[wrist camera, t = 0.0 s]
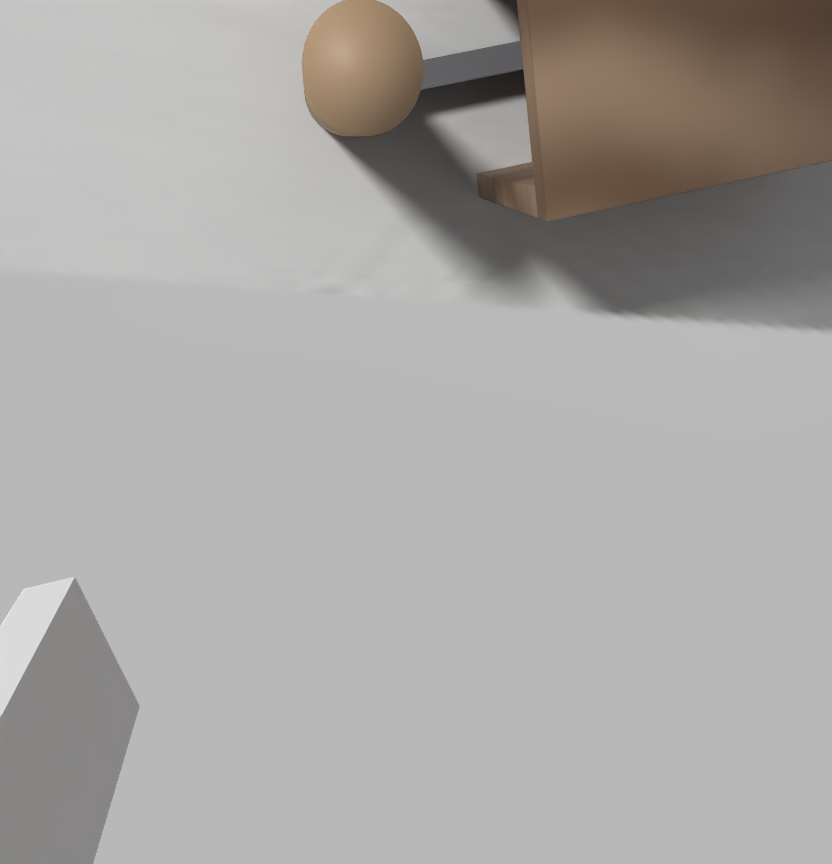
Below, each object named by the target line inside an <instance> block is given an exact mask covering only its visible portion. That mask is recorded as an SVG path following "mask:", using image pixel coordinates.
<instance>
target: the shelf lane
mask: <svg viewBox="0 0 832 864" xmlns="http://www.w3.org/2000/svg"><path fill="white" fill-rule="evenodd" d="M517 9H518V19H519V30H520V40H521V50H522V60H523V71H524V81H525V91H526V102H527V112H528V122H529V132H530V143H531V153H532V162H531V163H526V164H521V165H516V166H512V167H507V168H502V169H497V170H493V171H488V172H483V173H478V174H477V182H478V189H479V197H480V198H483V199H486V200H489V201H491V202H494V203H497V204H500V205H503V206H505V207H508V208H511V209H514V210H517V211H519V212H522V213H525V214H528V215H531V216H533V217H536V218H539V219H542V220H545V221H547V222H548V221H553V220H557V219H562V218H567V217H571V216H576V215H581V214H585V213H590V212H595V211H599V210H604V209H609V208H613V207H618V206H623V205H627V204H632V203H636V202H641V201H646V200H650V199H655V198H660V197H664V196H669V195H674V194H678V193H683V192H688V191H692V190H697V189H702V188H706V187H711V186H715V185H720V184H725V183H729V182H734V181H739V180H743V179H748V178H753V177H757V176H762V175H767V174H771V173H776V172H781V171H785V170H790V169H794V168H799V167H804V166H808V165H813V164H818V163H822V162H827V161H832V0H517Z"/></svg>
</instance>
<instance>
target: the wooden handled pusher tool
mask: <svg viewBox="0 0 832 864" xmlns="http://www.w3.org/2000/svg"><path fill="white" fill-rule="evenodd" d="M302 69H303V82H304V94H305V100H306V104H307V107H308V109H309V111H310V113H311V115H312V116H313V118H314V119H315V121H316V122H317V123H318V124H319V125H320V126H321V127H323V128H324V129H325V130H327V131H329V132H331V133H333V134H336V135H340V136H374V135H379V134H382V133H385V132H387V131H389V130H391V129H393V128H395V127H396V126H398V125H399V124H400V123H401V122H402V121H403V120H404V119H405V118H406V117H407V116H408V115H409V114H410V112H411V111H412V109H413V108H414V106H415V104H416V102H417V100H418V97H419V94H420V91H421V90H425V89H430V88H435V87H440V86H445V85H450V84H455V83H460V82H465V81H470V80H475V79H480V78H485V77H490V76H495V75H500V74H505V73H510V72H515V71H520V70H523V60H522V50H521V41H518V42H513V43H508V44H503V45H498V46H492V47H487V48H482V49H477V50H472V51H467V52H462V53H457V54H452V55H447V56H442V57H437V58H432V59H427V60H423V58H422V53H421V49H420V46H419V43H418V40H417V38H416V36H415V34H414V32H413V30H412V29H411V27H410V26H409V24H408V23H407V22H406V21H405V19H404V18H403V17H402V16H401V15H400V14H399V13H398V12H396V11H395V10H394V9H392V8H391V7H389V6H387V5H385V4H383V3H381V2H378V1H376V0H345V1H342V2H340V3H337V4H335V5H333V6H332V7H330V8H329V9H327V10H326V11H325V12H324V13H323V14H322V15H321V16H320V17H319V18H318V19H317V20H316V22H315V23H314V25H313V26H312V28H311V30H310V32H309V34H308V36H307V39H306V42H305V46H304V51H303V59H302Z"/></svg>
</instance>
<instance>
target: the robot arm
mask: <svg viewBox="0 0 832 864" xmlns="http://www.w3.org/2000/svg"><path fill="white" fill-rule="evenodd" d="M138 710H139V704H138V702H137V700H136V698H135V696H134V694H133V692H132V690H131V688H130V686H129V684H128V682H127V680H126V678H125V676H124V674H123V672H122V670H121V668H120V666H119V664H118V662H117V660H116V658H115V656H114V654H113V652H112V650H111V648H110V646H109V644H108V642H107V640H106V638H105V636H104V634H103V632H102V630H101V628H100V626H99V624H98V622H97V620H96V618H95V616H94V614H93V612H92V610H91V608H90V606H89V604H88V602H87V600H86V598H85V596H84V594H83V592H82V590H81V588H80V586H79V584H78V582H77V580H76V578H75V577H72V578H68V579H64V580H59V581H55V582H51V583H46V584H42V585H38V586H33V587H30V588H25V589H23V591H22V592H21V594H20V595H19V597H18V599H17V600H16V602H15V603H14V605H13V607H12V608H11V610H10V611H9V613H8V614H7V616H6V618H5V619H4V621H3V622H2V624H1V626H0V864H93V862H94V858H95V855H96V852H97V848H98V845H99V842H100V838H101V835H102V831H103V828H104V825H105V821H106V818H107V814H108V811H109V808H110V804H111V801H112V798H113V794H114V791H115V787H116V784H117V781H118V777H119V774H120V771H121V767H122V764H123V760H124V757H125V754H126V750H127V747H128V744H129V740H130V737H131V733H132V730H133V727H134V723H135V720H136V717H137V713H138Z"/></svg>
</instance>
